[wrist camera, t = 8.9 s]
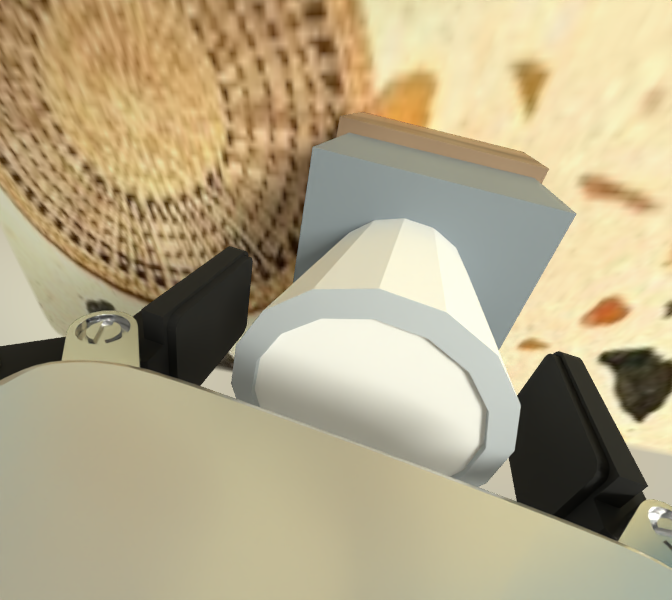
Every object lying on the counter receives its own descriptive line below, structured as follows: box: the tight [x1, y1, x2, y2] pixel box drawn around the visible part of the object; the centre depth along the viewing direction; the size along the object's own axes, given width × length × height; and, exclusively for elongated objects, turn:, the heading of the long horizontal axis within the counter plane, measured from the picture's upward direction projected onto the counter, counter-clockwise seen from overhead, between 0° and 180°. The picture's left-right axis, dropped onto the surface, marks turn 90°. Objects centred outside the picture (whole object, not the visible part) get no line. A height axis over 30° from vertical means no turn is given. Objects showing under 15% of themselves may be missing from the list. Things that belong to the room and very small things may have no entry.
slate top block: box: [293, 133, 576, 350], centre depth 17 cm, size 9×9×6 cm
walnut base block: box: [336, 112, 549, 184], centre depth 22 cm, size 10×10×6 cm
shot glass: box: [231, 218, 521, 487], centre depth 11 cm, size 7×7×7 cm
